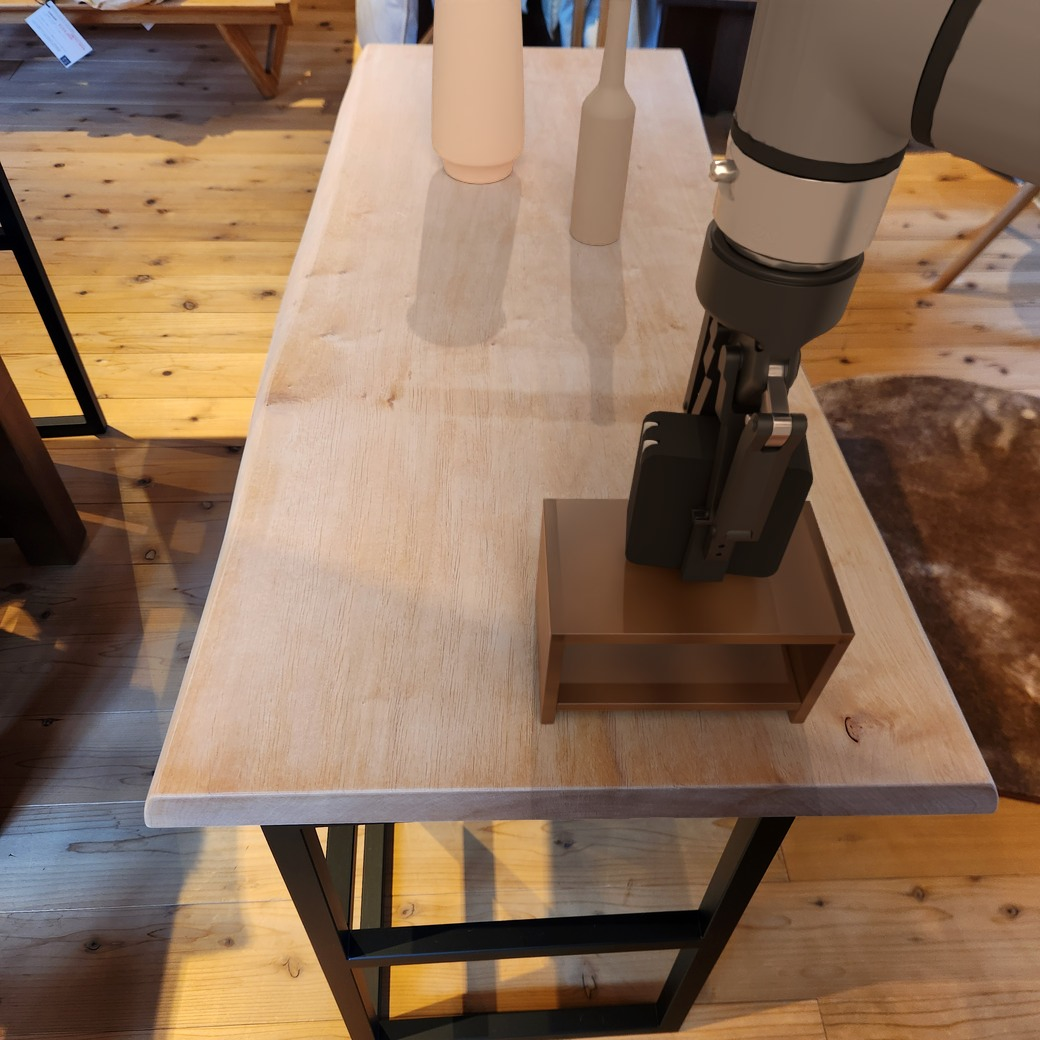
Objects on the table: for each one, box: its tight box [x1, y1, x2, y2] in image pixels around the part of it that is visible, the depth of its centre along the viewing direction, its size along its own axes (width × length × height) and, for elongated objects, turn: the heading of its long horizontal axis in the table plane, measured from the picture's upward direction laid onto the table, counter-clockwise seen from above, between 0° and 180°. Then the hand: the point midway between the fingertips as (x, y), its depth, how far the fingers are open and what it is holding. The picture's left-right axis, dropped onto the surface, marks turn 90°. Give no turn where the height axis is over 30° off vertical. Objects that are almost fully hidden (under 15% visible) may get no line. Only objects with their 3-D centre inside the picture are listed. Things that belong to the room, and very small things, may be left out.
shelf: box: [535, 497, 856, 725], centre depth 63 cm, size 20×12×12 cm, turn 91°
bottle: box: [569, 0, 637, 246], centre depth 101 cm, size 7×7×28 cm
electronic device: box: [625, 410, 814, 578], centre depth 54 cm, size 4×10×10 cm, turn 83°
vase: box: [430, 0, 526, 185], centre depth 112 cm, size 13×13×28 cm
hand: (694, 545), depth 58 cm, fingers closed on electronic device, 5 cm apart
